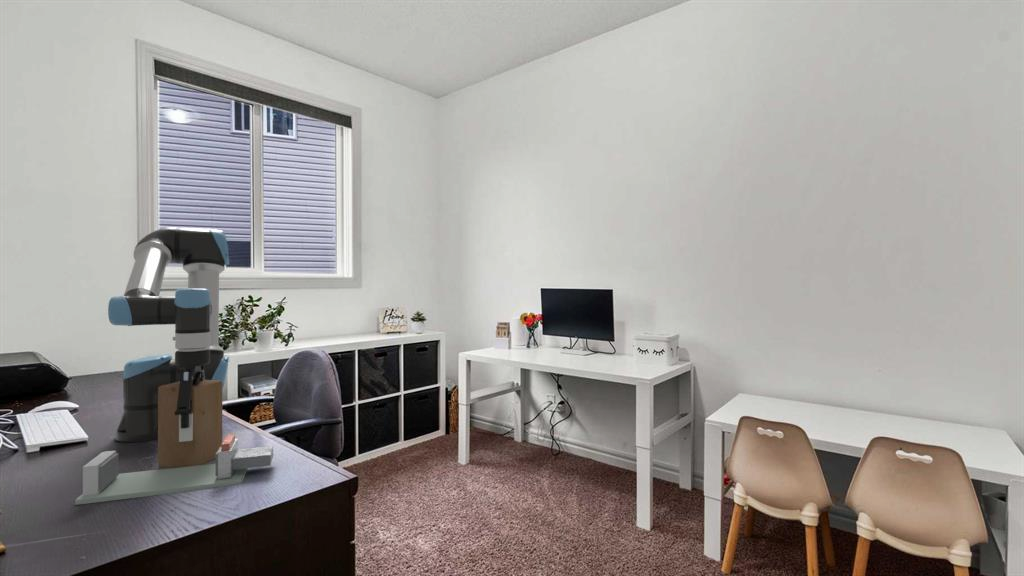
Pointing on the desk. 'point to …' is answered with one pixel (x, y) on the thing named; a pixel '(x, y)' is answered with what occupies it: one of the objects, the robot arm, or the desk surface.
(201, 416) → the wooden block
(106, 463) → the vise bed
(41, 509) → the desk surface
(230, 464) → the free jaw
